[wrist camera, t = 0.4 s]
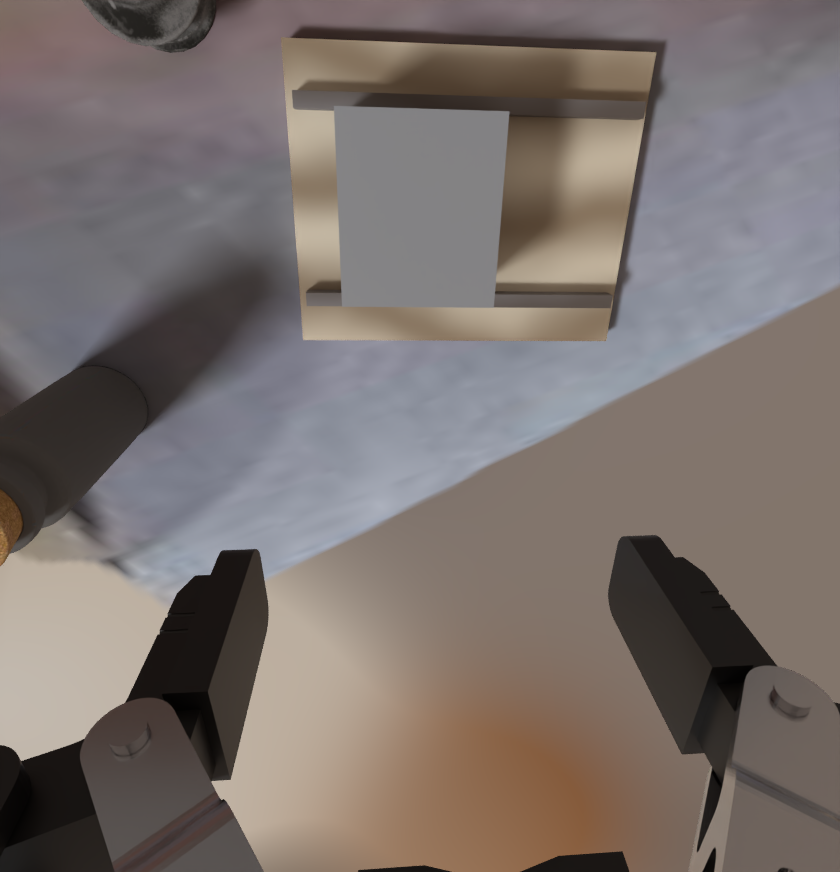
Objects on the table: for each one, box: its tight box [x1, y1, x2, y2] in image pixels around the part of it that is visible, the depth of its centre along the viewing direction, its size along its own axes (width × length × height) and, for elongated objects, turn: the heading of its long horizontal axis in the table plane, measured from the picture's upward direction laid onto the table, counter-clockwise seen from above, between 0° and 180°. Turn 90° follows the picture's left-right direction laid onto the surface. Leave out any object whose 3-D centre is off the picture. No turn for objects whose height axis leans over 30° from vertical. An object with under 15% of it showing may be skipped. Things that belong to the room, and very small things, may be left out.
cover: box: [334, 106, 509, 308], centre depth 29 cm, size 9×8×6 cm
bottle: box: [0, 366, 148, 566], centre depth 31 cm, size 6×6×15 cm
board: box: [281, 38, 656, 341], centre depth 32 cm, size 16×20×2 cm
